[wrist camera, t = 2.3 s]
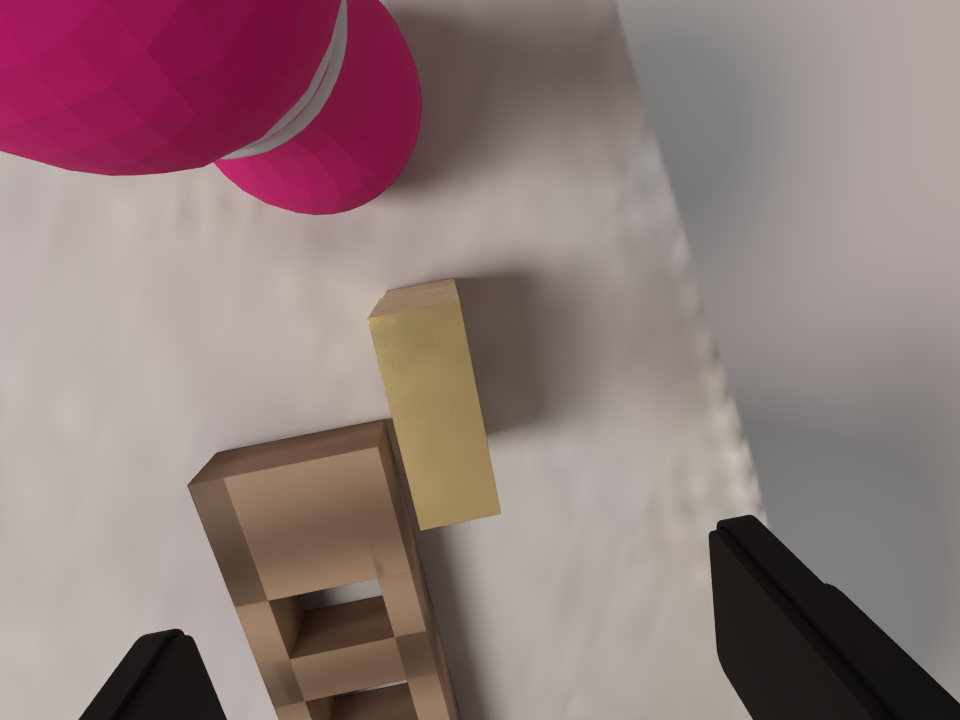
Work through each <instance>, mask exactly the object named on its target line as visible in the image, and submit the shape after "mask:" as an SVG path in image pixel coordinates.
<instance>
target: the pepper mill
mask: <svg viewBox="0 0 960 720" xmlns="http://www.w3.org/2000/svg"><path fill="white" fill-rule="evenodd" d="M421 109H422V105H421V88H420V83H419V78H418V74H417V69H416V66H415V63H414V60H413V57H412V55H411V52H410V49H409V47H408V45H407V43H406V41H405V39H404V37H403V36H402V34H401V32H400V30H399V28H398V26H397V24H396V22H395V21H394V19H393V18H392V17H391V15H390V14H389V12H388V11H387V9H386V8H385V7H384V5H383V4H382V3H381V2H380V1H379V0H0V151H3V152H7V153H10V154H14V155H17V156H21V157H24V158H28V159H31V160H35V161H38V162H42V163H45V164H49V165H52V166H56V167H59V168H63V169H66V170H71V171H79V172H86V173H94V174H102V175H109V176H120V175H146V174H159V173H168V172H174V171H181V170H187V169H194V168H200V167H204V166H206V165H208V164H210V163H212V162H214V163H215V165H216V166H217V167H218V168H219V169H220V170H221V171H222V173H223V174H224V175H225V176H226V177H228V178H229V179H230V180H231V181H232V182H234V183H235V184H236V185H237V186H238V187H240V188H241V189H242V190H243V191H245V192H247V193H249V194H251V195H252V196H254V197H256V198H258V199H260V200H262V201H263V202H265V203H267V204H270V205H273V206H277V207H280V208H283V209H287V210H290V211H293V212H297V213H304V214H311V215H325V214H336V213H340V212H345V211H349V210H352V209H354V208H357V207H359V206H362V205H364V204H366V203H368V202H369V201H371V200H373V199H374V198H376V197H378V196H379V195H380V194H381V193H382V192H383V191H385V190H386V189H387V188H388V187H389V186H390V185H391V184H392V183H393V182H394V181H395V179H396V178H397V177H398V176H399V175H400V173H401V172H402V170H403V169H404V167H405V165H406V164H407V162H408V160H409V158H410V156H411V154H412V151H413V149H414V146H415V144H416V140H417V136H418V132H419V128H420V120H421Z"/></svg>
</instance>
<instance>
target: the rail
mask: <svg viewBox="0 0 960 720" xmlns="http://www.w3.org/2000/svg"><path fill="white" fill-rule="evenodd" d="M187 486H188V489H189V491H190V494H191V496H192V499H193V501H194V504H195V507H196V509H197V512H198V514H199V517H200V519H201V522H202V525H203V527H204V530H205V532H206V535H207V537H208V540H209V542H210V545H211V548H212V550H213V553H214V555H215V558H216V560H217V563H218V566H219V568H220V571H221V573H222V576H223V578H224V581H225V583H226V586H227V589H228V591H229V594H230V596H231V599H232V601H233V604H234V606H235V609H236V612H237V614H238V617H239V619H240V622H241V624H242V627H243V630H244V632H245V635H246V637H247V640H248V642H249V645H250V647H251V650H252V653H253V655H254V658H255V660H256V663H257V665H258V668H259V670H260V673H261V676H262V678H263V681H264V683H265V686H266V688H267V691H268V694H269V696H270V699H271V701H272V704H273V706H274V709H275V711H276V714H277V717H278V719H279V720H461V717H460V713H459V709H458V705H457V701H456V697H455V693H454V690H453V686H452V682H451V678H450V674H449V670H448V666H447V662H446V658H445V654H444V650H443V646H442V643H441V639H440V635H439V631H438V627H437V623H436V619H435V615H434V611H433V607H432V603H431V599H430V596H429V592H428V588H427V584H426V580H425V576H424V572H423V568H422V564H421V560H420V556H419V553H418V549H417V545H416V541H415V537H414V533H413V529H412V525H411V521H410V517H409V513H408V509H407V506H406V502H405V498H404V494H403V490H402V486H401V482H400V478H399V474H398V470H397V466H396V462H395V459H394V455H393V451H392V447H391V443H390V439H389V435H388V431H387V427H386V423H385V419H383V420H378V421H373V422H368V423H363V424H358V425H353V426H348V427H343V428H338V429H333V430H328V431H323V432H318V433H313V434H308V435H303V436H298V437H293V438H288V439H283V440H278V441H273V442H268V443H263V444H258V445H253V446H248V447H243V448H238V449H233V450H228V451H223V452H218V453H216V454H215V455H214V456H213V457H212V458H211V459H210V461H209V462H208V463H207V464H206V465H205V466H204V467H203V468H202V469H201V471H200V472H199V473H198V474H197V475H196V476H195V477H194V478H193V479H192V480H191V482H190V483H189V484H188V485H187ZM375 578H378V581H379V584H380V588H381V591H382V594H383V596H380V597H375V598H370V599H366V600H361V601H356V602H351V603H346V604H342V605H337V606H332V607H327V608H323V609H318V610H313V611H308V612H305V611H304V608H303V605H302V602H301V599H300V596H299V594H303V593H308V592H313V591H318V590H322V589H327V588H332V587H337V586H342V585H346V584H351V583H356V582H361V581H366V580H370V579H375ZM403 680H407V682H408V683H406V684H401V685H397V686H392V687H387V688H383V689H378V690H373V691H369V692H364V693H359V694H355V695H350V696H345V697H341V698H336V699H335V698H334V695H337V694H342V693H346V692H351V691H356V690H361V689H365V688H370V687H375V686H379V685H384V684H389V683H393V682H398V681H403Z"/></svg>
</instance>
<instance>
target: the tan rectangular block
mask: <svg viewBox="0 0 960 720" xmlns="http://www.w3.org/2000/svg"><path fill="white" fill-rule="evenodd" d="M368 323H369V327H370V331H371V335H372V339H373V343H374V347H375V351H376V355H377V359H378V363H379V367H380V371H381V375H382V379H383V383H384V387H385V391H386V395H387V399H388V403H389V407H390V411H391V415H392V419H393V423H394V427H395V431H396V435H397V439H398V443H399V447H400V451H401V455H402V459H403V463H404V467H405V471H406V475H407V479H408V483H409V487H410V491H411V495H412V499H413V503H414V507H415V511H416V515H417V519H418V523H419V527H420V531H421V530H426V529H431V528H436V527H441V526H445V525H450V524H455V523H460V522H465V521H470V520H474V519H479V518H484V517H489V516H494V515H499V514H501V510H500V505H499V500H498V495H497V490H496V485H495V479H494V474H493V469H492V464H491V459H490V454H489V449H488V444H487V439H486V434H485V428H484V423H483V418H482V413H481V408H480V403H479V398H478V393H477V388H476V383H475V377H474V372H473V367H472V362H471V357H470V352H469V347H468V342H467V337H466V332H465V326H464V321H463V316H462V311H461V306H460V301H459V297H458V293H457V289H456V285H455V281H454V278H451V279H446V280H440V281H435V282H430V283H425V284H420V285H415V286H410V287H404V288H399V289H394V290H389V291H387V292H386V293H385V295H384V297H383V298H380V300H379V301H378V303H377V304H376V306H375V308H374V309H373V311H372V312H371V314H370V316H369V317H368Z"/></svg>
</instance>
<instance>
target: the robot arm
mask: <svg viewBox="0 0 960 720" xmlns="http://www.w3.org/2000/svg"><path fill="white" fill-rule="evenodd" d="M709 549H710V563H711V577H712V590H713V604H714V618H715V632H716V645H717V654H718V657H719V661H720V663H721V666H722V668H723V671H724V672H725V674H726V676H727V678H728V679H729V681H730V683H731V684H732V686H733V687H734V689H735V691H736V692H737V694H738V696H739V697H740V699H741V701H742V702H743V704H744V705H745V707H746V709H747V710H748V712H749V714H750V715H751V717H752V719H753V720H960V704H959V702H957V701H956V700H955V699H954V698H953V697H952V696H951V695H950V694H949V693H948V692H947V691H946V690H945V689H944V688H943V687H942V686H941V685H939V684H938V683H937V682H936V681H935V680H934V679H933V678H932V677H931V676H930V675H929V674H928V673H927V672H926V671H925V670H924V669H923V668H922V667H921V666H920V665H918V664H917V663H916V662H915V661H914V660H913V659H912V658H911V657H910V656H909V655H908V654H907V653H906V652H905V651H904V650H903V649H902V648H901V647H899V646H898V645H897V644H896V643H895V642H894V641H893V640H892V639H891V638H890V637H889V636H888V635H887V634H886V633H885V632H884V631H883V630H881V628H879V627H878V626H877V625H876V624H875V623H874V622H873V621H872V620H871V619H870V618H869V617H868V616H867V615H866V614H865V613H864V612H863V611H862V610H860V609H859V608H858V607H857V606H856V605H855V604H854V603H853V602H852V601H851V600H850V599H849V598H848V597H847V596H846V595H845V594H844V593H843V592H841V591H840V590H839V589H837V588H836V587H835V586H833V585H830V584H827V583H826V584H824V583H823V582H821V580H820V579H818V577H817V576H816V575H815V574H813V572H812V571H810V570H809V569H808V568H807V567H806V566H805V565H804V564H803V563H802V562H801V561H800V560H799V559H798V558H797V557H796V556H795V555H794V554H793V553H792V552H791V551H790V550H789V549H788V548H787V547H786V546H785V545H784V544H783V543H782V542H781V541H779V539H778V538H776V536H774V535H773V534H772V533H771V532H770V531H769V530H768V529H767V528H766V527H765V526H764V525H763V524H762V523H761V522H760V521H759V520H758V519H757V518H756V517H754V516H753V515H745V516H740V517H735V518H730V519H725V520H720V521H719V522H718V523H717V530H714V531H711V532H710V533H709ZM79 720H227V719H226V716H225V714H224V711H223V709H222V707H221V704H220V702H219V699H218V697H217V694H216V692H215V690H214V687H213V685H212V682H211V680H210V677H209V675H208V673H207V670H206V668H205V665H204V663H203V660H202V658H201V656H200V653H199V651H198V648H197V646H196V643H195V641H194V639H193V638H192V637H191V636H190V635H186V636H185V634H184V633H183V631H181V630H180V629H171V630H166V631H161V632H156V633H151V634H146V635H143V636H141V637H140V638H139V639H138V640H137V641H136V642H135V643H134V645H133V646H132V647H131V649H130V650H129V651H128V653H127V654H126V655H125V657H124V658H123V660H122V661H121V662H120V664H119V665H118V666H117V668H116V669H115V670H114V672H113V673H112V675H111V676H110V677H109V679H108V680H107V681H106V683H105V684H104V686H103V687H102V688H101V690H100V691H99V692H98V694H97V695H96V696H95V698H94V699H93V701H92V702H91V703H90V705H89V706H88V707H87V709H86V710H85V711H84V713H83V714H82V716H81V717H80V718H79Z"/></svg>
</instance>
